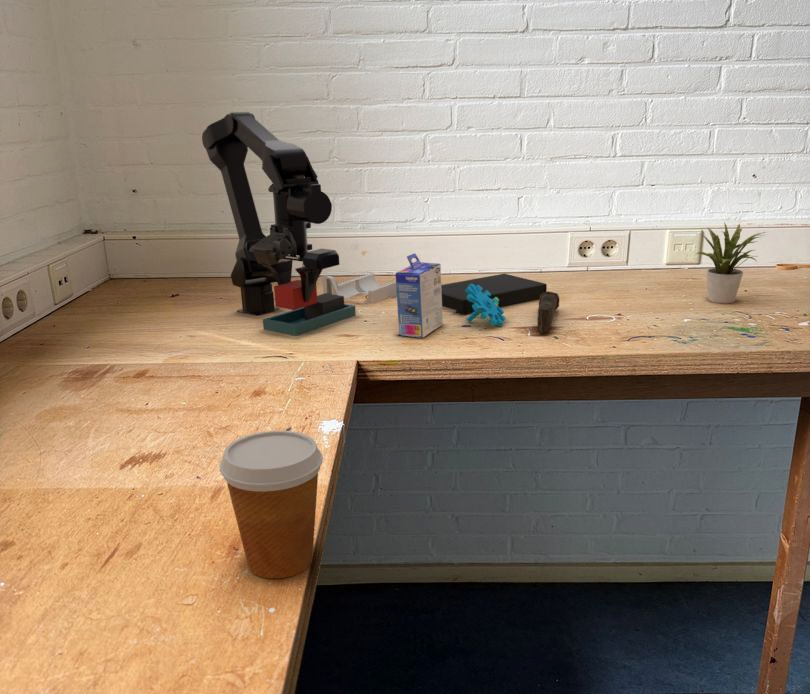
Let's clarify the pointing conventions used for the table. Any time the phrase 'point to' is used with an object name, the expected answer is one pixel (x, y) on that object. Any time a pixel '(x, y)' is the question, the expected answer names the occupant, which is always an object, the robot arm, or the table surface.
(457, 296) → the external hard drive
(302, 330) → the tray
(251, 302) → the robot arm
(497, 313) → the blue coral piece
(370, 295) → the skate ramp
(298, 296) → the red rectangular block
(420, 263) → the ink cartridge box
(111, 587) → the table surface
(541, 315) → the hand tool
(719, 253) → the house plant
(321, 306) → the dark grey block
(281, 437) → the disposable coffee cup
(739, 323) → the table surface
